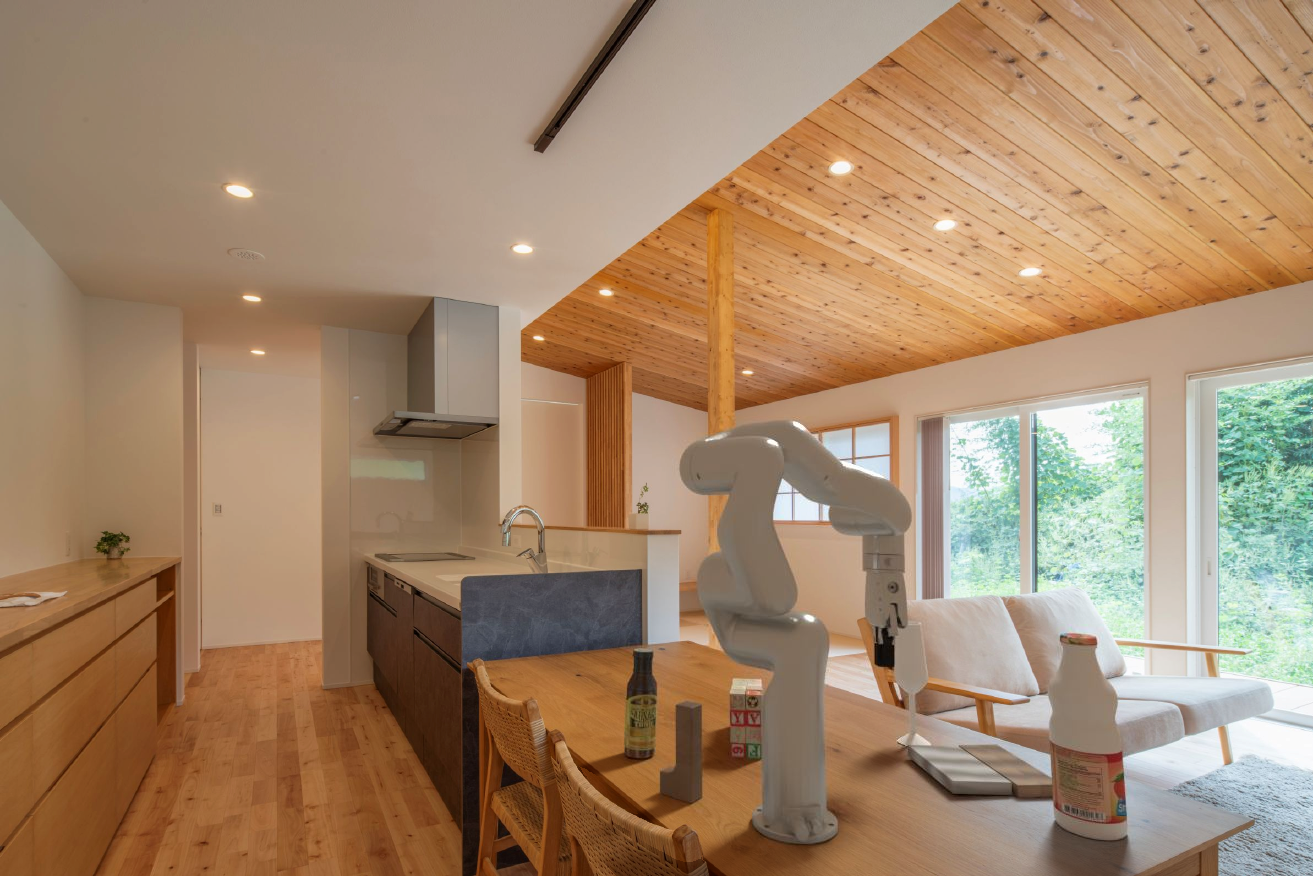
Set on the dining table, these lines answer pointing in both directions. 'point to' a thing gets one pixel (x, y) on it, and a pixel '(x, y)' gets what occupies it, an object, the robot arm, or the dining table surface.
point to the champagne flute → (911, 673)
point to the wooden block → (685, 756)
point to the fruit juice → (1086, 745)
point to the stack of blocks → (745, 718)
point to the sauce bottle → (641, 707)
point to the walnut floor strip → (1013, 770)
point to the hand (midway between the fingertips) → (884, 666)
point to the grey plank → (959, 770)
